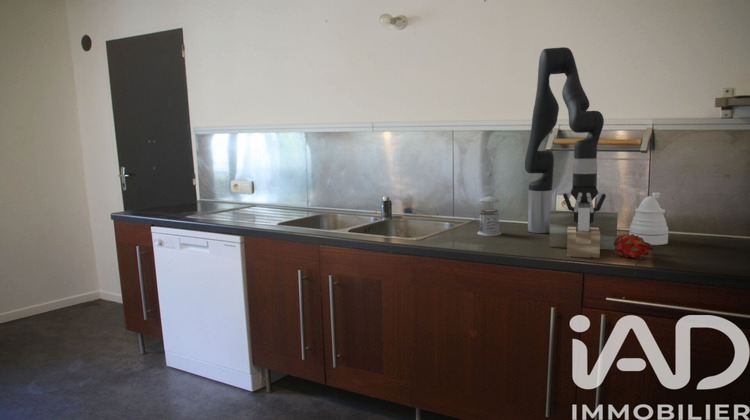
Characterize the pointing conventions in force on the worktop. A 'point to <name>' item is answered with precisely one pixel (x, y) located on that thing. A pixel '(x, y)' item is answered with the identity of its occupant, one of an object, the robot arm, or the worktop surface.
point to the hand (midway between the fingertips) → (583, 223)
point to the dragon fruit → (632, 246)
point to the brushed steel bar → (583, 216)
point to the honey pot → (650, 222)
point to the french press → (488, 216)
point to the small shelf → (583, 233)
